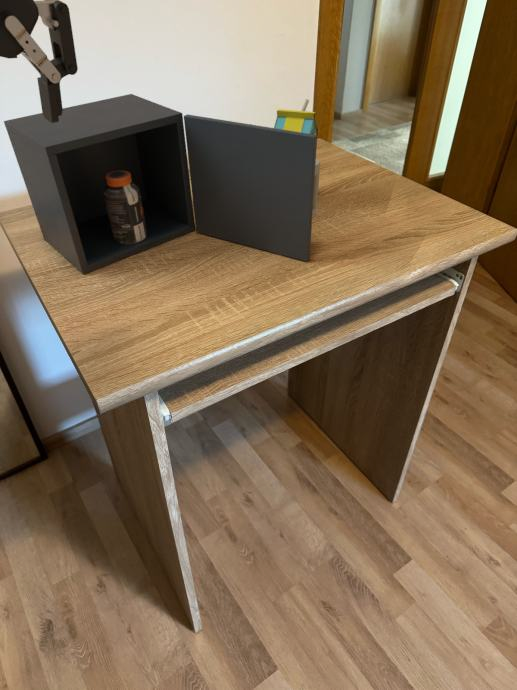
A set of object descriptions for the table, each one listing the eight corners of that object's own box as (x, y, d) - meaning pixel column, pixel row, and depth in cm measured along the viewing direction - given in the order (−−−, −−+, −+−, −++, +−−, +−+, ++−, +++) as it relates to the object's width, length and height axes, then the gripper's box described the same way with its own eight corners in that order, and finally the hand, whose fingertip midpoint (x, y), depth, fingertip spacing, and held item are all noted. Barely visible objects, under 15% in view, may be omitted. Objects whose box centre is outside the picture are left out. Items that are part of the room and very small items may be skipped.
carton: (316, 193, 101) (322, 99, 90) (306, 209, 96) (311, 111, 84) (281, 189, 103) (283, 96, 91) (270, 204, 98) (270, 108, 86)
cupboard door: (214, 218, 93) (205, 105, 80) (322, 245, 85) (332, 124, 72) (196, 232, 89) (183, 115, 76) (307, 261, 81) (314, 136, 68)
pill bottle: (153, 238, 85) (142, 175, 78) (121, 248, 83) (106, 184, 76) (139, 225, 89) (127, 164, 82) (108, 234, 87) (93, 172, 79)
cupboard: (195, 230, 90) (182, 112, 77) (83, 274, 79) (45, 147, 66) (150, 202, 99) (131, 93, 86) (43, 239, 88) (3, 121, 75)
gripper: (36, -91, 42) (60, 105, 53) (-163, -116, 34) (-87, 120, 45) (78, -76, 39) (94, 130, 50) (-132, -101, 31) (-58, 152, 42)
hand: (8, 125), depth 48 cm, fingers open, 8 cm apart
